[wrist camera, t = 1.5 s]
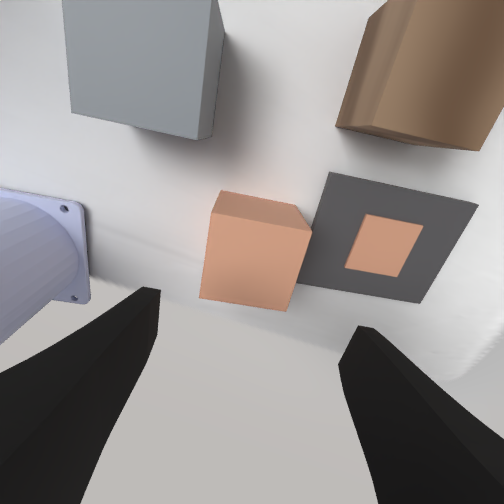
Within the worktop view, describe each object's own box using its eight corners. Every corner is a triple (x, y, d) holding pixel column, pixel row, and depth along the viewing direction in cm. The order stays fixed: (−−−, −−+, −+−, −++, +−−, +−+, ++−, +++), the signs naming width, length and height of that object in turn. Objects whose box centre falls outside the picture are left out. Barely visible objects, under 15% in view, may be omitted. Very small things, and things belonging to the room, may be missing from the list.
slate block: (125, 117, 15) (71, 112, 10) (124, 5, 13) (56, -63, 8) (211, 136, 15) (197, 140, 11) (225, 31, 13) (213, -19, 9)
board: (294, 278, 19) (296, 284, 19) (329, 171, 16) (333, 173, 15) (415, 299, 20) (421, 305, 20) (471, 202, 17) (481, 205, 16)
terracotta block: (210, 257, 19) (198, 298, 14) (220, 189, 17) (211, 212, 12) (277, 268, 19) (286, 311, 15) (295, 204, 17) (312, 231, 13)
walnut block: (334, 126, 15) (371, 125, 11) (368, 18, 13) (431, -40, 9) (412, 144, 16) (479, 151, 11) (456, 44, 14) (560, 1, 9)
